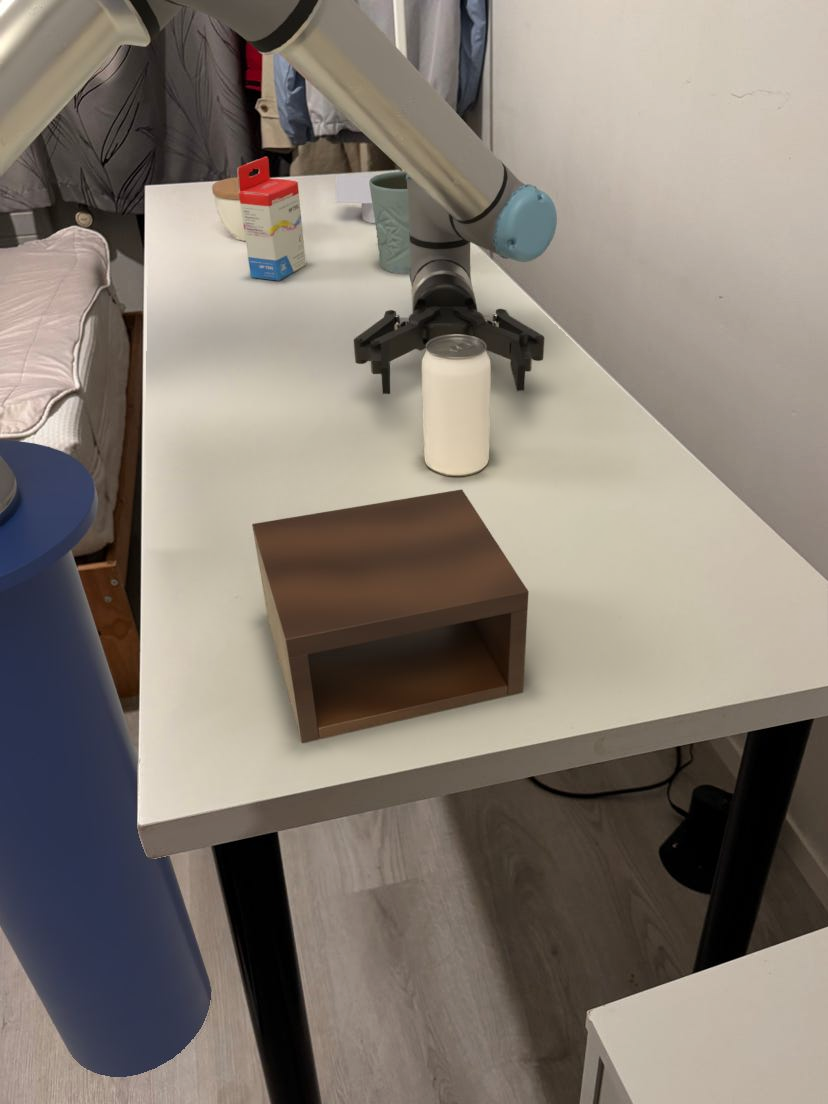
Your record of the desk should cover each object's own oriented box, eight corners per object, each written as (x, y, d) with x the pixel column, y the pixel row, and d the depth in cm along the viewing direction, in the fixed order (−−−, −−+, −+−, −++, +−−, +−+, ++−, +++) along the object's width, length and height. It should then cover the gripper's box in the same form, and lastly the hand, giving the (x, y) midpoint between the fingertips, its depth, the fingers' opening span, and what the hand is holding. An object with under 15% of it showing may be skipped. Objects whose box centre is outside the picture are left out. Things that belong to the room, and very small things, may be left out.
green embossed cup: (447, 257, 144) (446, 172, 136) (433, 278, 136) (431, 190, 128) (383, 253, 145) (379, 169, 137) (366, 273, 137) (360, 186, 130)
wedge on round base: (337, 224, 157) (413, 224, 157) (333, 181, 153) (412, 181, 153) (341, 209, 164) (414, 209, 164) (338, 168, 160) (413, 168, 160)
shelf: (268, 621, 73) (251, 523, 67) (462, 584, 77) (462, 488, 71) (301, 743, 62) (285, 640, 57) (523, 692, 66) (528, 591, 61)
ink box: (279, 282, 134) (265, 171, 125) (249, 278, 135) (233, 167, 126) (307, 264, 140) (296, 157, 131) (278, 261, 141) (265, 154, 132)
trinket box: (281, 224, 157) (274, 163, 151) (291, 242, 149) (284, 179, 143) (216, 229, 154) (206, 167, 148) (223, 248, 146) (213, 183, 140)
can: (411, 460, 93) (406, 344, 85) (459, 440, 96) (458, 327, 89) (453, 485, 89) (453, 365, 82) (502, 463, 93) (505, 346, 85)
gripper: (547, 334, 112) (573, 411, 96) (340, 338, 111) (331, 417, 94) (550, 271, 108) (579, 340, 91) (334, 274, 106) (324, 345, 90)
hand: (453, 379), depth 93 cm, fingers open, 13 cm apart
